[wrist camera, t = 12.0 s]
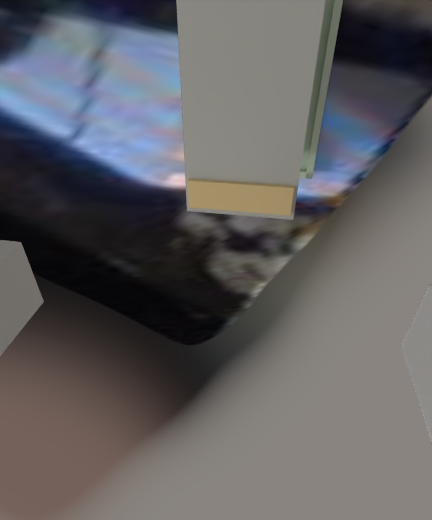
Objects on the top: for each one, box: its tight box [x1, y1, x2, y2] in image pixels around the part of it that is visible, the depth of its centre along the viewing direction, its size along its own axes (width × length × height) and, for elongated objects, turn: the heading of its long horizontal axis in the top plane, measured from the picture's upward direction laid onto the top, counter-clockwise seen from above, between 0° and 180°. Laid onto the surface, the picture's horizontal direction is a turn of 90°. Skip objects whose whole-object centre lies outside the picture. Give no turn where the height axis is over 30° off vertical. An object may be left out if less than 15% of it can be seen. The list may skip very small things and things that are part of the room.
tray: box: [299, 0, 343, 179], centre depth 26 cm, size 10×14×1 cm
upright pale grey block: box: [177, 0, 326, 220], centre depth 22 cm, size 6×10×11 cm, turn 0°
